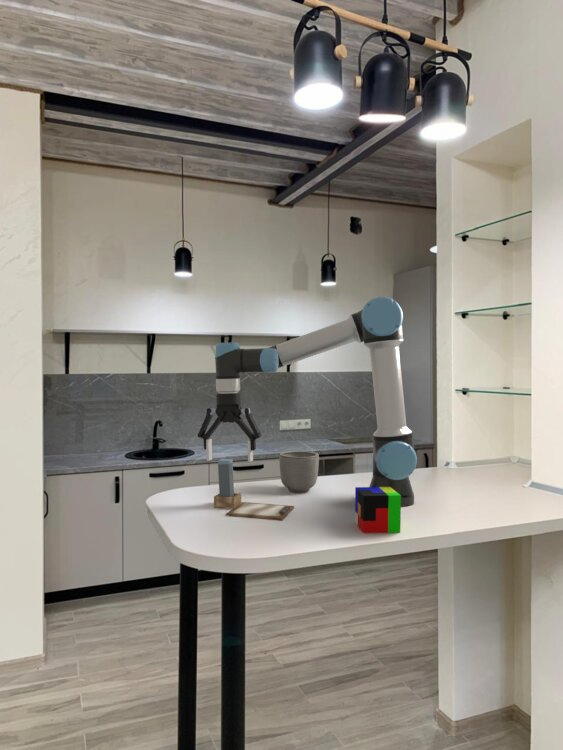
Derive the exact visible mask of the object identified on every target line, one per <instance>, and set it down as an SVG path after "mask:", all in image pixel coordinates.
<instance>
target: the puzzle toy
mask: <svg viewBox="0 0 563 750" xmlns="http://www.w3.org/2000/svg"><path fill="white" fill-rule="evenodd" d="M354 496H355V497H354V499H355V500H354V509H355V511H354V523H355V524H356V526H357V527H358V528H359V529H360V531H361V533H363V534H391V533H392V534H393V533H394V534H396V533H399V534H401V523H402V522H401V515H402V512H401V509H402V506H401V495H400V494H398V493H397V492H396V491H395V490H393V489H392V488H391V487H369V486H367V487H366V486H365V487H364V486H362V487H361V486H358V487H357V486H356V487H355V494H354Z"/></svg>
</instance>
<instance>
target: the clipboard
mask: <svg viewBox="0 0 563 750" xmlns="http://www.w3.org/2000/svg"><path fill="white" fill-rule="evenodd" d="M294 508H295V505H288V504H287V505H286V504H272V503H262V502H261V503H259V502H247V501H241V503H240V504H239V505H237V506H236V507H235V508H233V509H229V511H227V512H226V514H225V516H226V515H229V516H228V517H237V516H238V517H239V518H240V517H241V518H251V519H261V520H273V521H274V520H276V521H283V520H284V519H286V517H287V516H288V515H289V514H290V513H291V512H292V511H293V510H294Z"/></svg>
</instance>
